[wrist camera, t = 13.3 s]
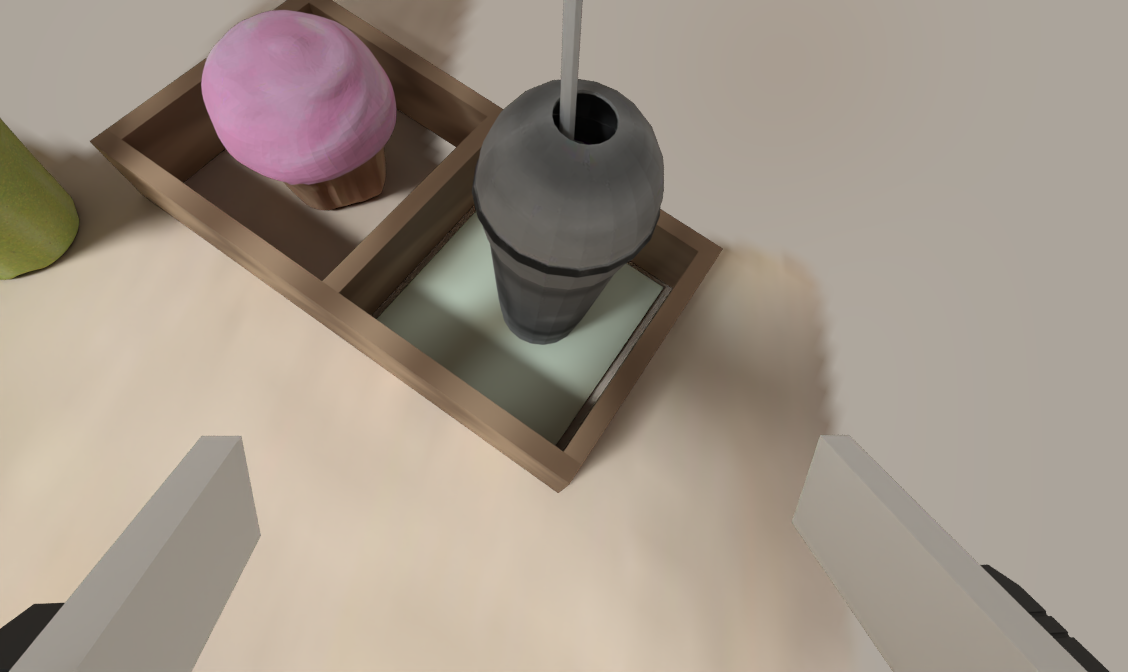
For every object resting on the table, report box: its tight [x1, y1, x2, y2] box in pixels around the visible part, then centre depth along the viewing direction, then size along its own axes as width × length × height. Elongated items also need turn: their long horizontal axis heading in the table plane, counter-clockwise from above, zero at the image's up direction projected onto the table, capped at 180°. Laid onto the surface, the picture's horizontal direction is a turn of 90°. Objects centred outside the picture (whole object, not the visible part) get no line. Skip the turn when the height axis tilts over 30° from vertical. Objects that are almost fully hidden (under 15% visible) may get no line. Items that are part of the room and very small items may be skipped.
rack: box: [90, 0, 723, 493], centre depth 31 cm, size 29×15×4 cm, turn 56°
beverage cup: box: [472, 0, 664, 345], centre depth 22 cm, size 7×7×20 cm
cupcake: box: [201, 10, 396, 210], centre depth 29 cm, size 9×9×10 cm
